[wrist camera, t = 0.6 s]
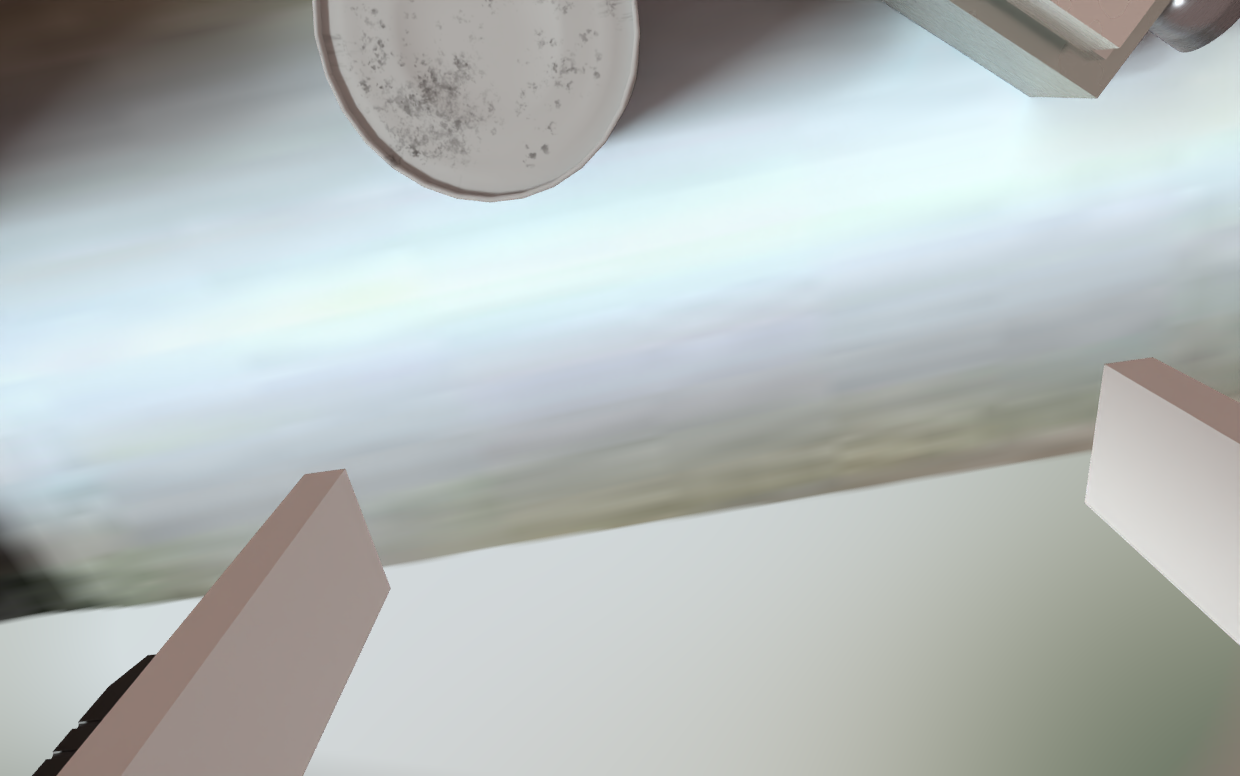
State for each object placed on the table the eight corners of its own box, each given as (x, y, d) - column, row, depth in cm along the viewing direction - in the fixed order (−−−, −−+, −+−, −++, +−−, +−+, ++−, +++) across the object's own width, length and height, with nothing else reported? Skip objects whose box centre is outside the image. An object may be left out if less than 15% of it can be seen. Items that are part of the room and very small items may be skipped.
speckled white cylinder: (399, -37, 30) (254, -114, 18) (611, -99, 29) (595, -219, 17) (468, 183, 33) (382, 232, 22) (658, 137, 32) (669, 163, 21)
